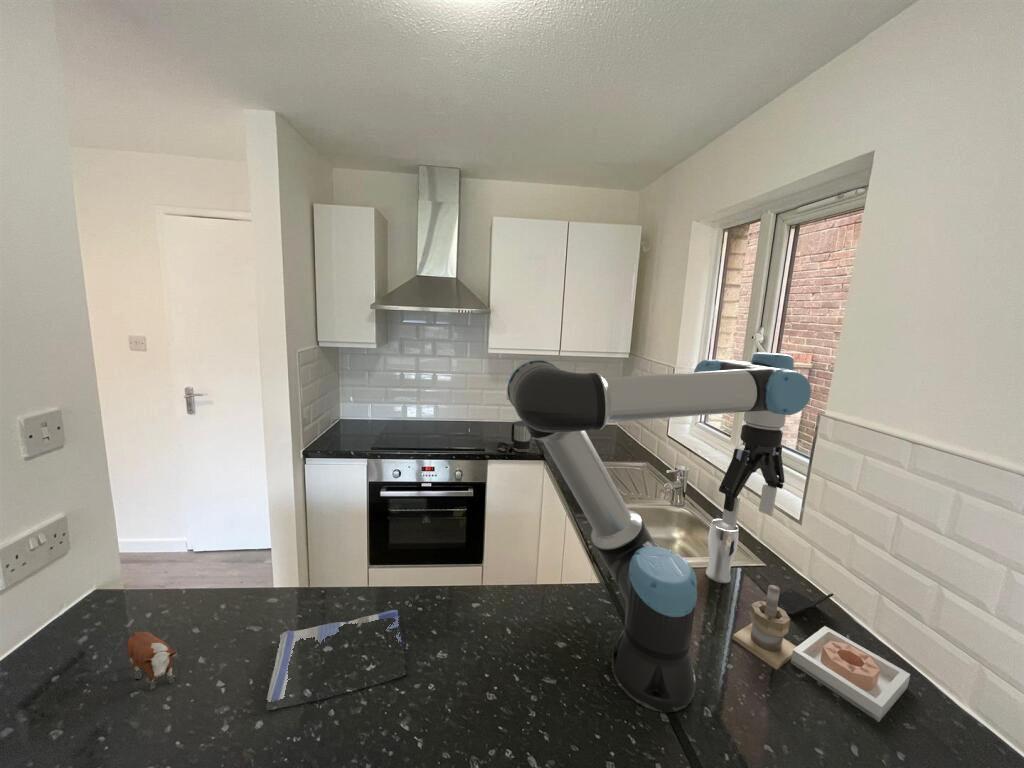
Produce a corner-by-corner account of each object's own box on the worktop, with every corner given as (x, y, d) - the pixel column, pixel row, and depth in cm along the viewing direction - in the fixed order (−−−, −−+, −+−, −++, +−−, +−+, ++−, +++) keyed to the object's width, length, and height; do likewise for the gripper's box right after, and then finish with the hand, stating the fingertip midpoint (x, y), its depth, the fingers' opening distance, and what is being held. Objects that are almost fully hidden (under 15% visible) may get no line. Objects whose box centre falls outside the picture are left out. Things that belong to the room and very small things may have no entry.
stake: (776, 669, 80) (786, 608, 78) (732, 638, 88) (740, 581, 86) (798, 652, 85) (809, 594, 83) (755, 624, 92) (763, 570, 90)
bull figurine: (154, 710, 66) (149, 666, 65) (125, 670, 73) (121, 630, 72) (186, 690, 70) (182, 648, 69) (156, 654, 77) (152, 615, 76)
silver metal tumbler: (736, 586, 106) (743, 533, 104) (707, 582, 107) (714, 529, 105) (727, 571, 113) (734, 520, 110) (701, 566, 114) (707, 517, 112)
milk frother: (533, 451, 210) (535, 423, 208) (513, 457, 199) (514, 428, 196) (513, 444, 220) (515, 418, 217) (493, 450, 208) (494, 422, 206)
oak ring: (776, 640, 81) (778, 627, 81) (744, 619, 87) (746, 607, 86) (792, 629, 85) (794, 616, 84) (760, 610, 90) (762, 597, 89)
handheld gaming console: (781, 581, 107) (812, 567, 100) (804, 608, 103) (838, 595, 97) (762, 604, 100) (794, 590, 93) (787, 633, 96) (822, 621, 90)
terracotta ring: (881, 678, 78) (884, 664, 78) (864, 696, 74) (867, 682, 74) (832, 649, 85) (835, 636, 85) (815, 664, 81) (817, 651, 81)
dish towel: (281, 639, 82) (280, 627, 82) (400, 616, 90) (400, 605, 90) (260, 718, 66) (259, 703, 66) (408, 681, 74) (408, 668, 74)
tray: (878, 722, 70) (882, 707, 70) (790, 662, 82) (792, 649, 82) (907, 687, 78) (910, 674, 77) (822, 638, 89) (824, 625, 89)
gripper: (777, 417, 96) (763, 502, 99) (709, 424, 84) (695, 520, 87) (812, 425, 89) (796, 516, 92) (744, 434, 77) (728, 538, 80)
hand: (747, 518), depth 90 cm, fingers open, 13 cm apart
